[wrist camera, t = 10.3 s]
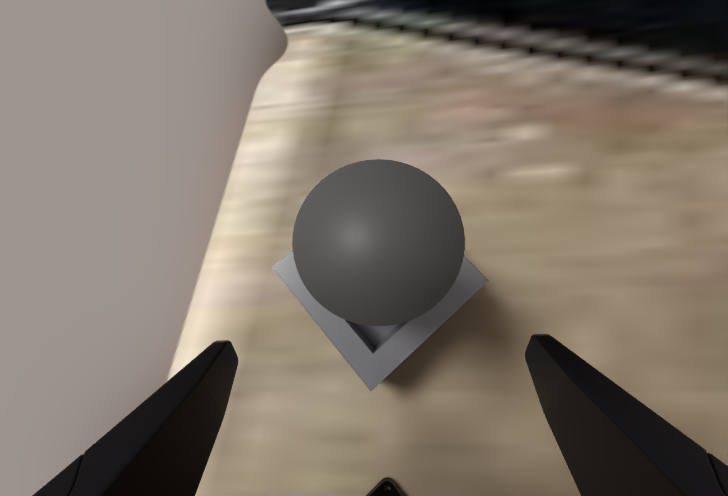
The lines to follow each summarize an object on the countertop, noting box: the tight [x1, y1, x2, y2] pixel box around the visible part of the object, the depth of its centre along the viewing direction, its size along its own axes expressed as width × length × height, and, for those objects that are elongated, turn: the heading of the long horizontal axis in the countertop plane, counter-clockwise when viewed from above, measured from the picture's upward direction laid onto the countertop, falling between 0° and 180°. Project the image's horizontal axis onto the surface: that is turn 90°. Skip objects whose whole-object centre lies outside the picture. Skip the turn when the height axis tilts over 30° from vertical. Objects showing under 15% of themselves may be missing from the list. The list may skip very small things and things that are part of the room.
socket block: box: [272, 250, 489, 391], centre depth 20 cm, size 10×10×4 cm
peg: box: [293, 159, 465, 326], centre depth 16 cm, size 6×6×13 cm
